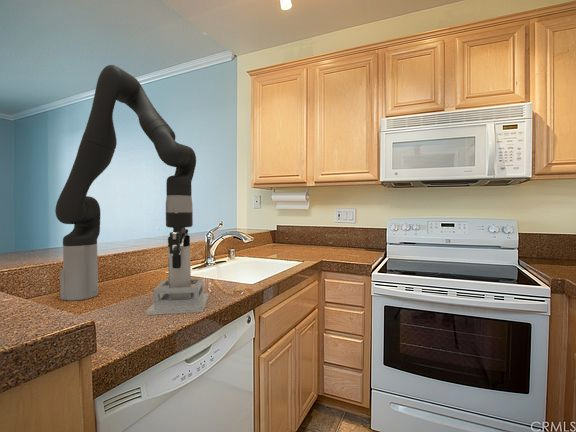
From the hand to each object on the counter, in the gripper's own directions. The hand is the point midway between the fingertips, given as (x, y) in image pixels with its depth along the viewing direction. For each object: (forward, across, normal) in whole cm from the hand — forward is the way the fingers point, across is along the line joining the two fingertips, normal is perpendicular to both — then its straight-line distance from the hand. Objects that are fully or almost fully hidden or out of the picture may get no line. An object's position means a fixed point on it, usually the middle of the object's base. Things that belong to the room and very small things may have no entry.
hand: (179, 265), depth 88 cm
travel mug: (+11, 0, 0) cm, 11 cm away
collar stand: (+12, 0, 0) cm, 12 cm away
